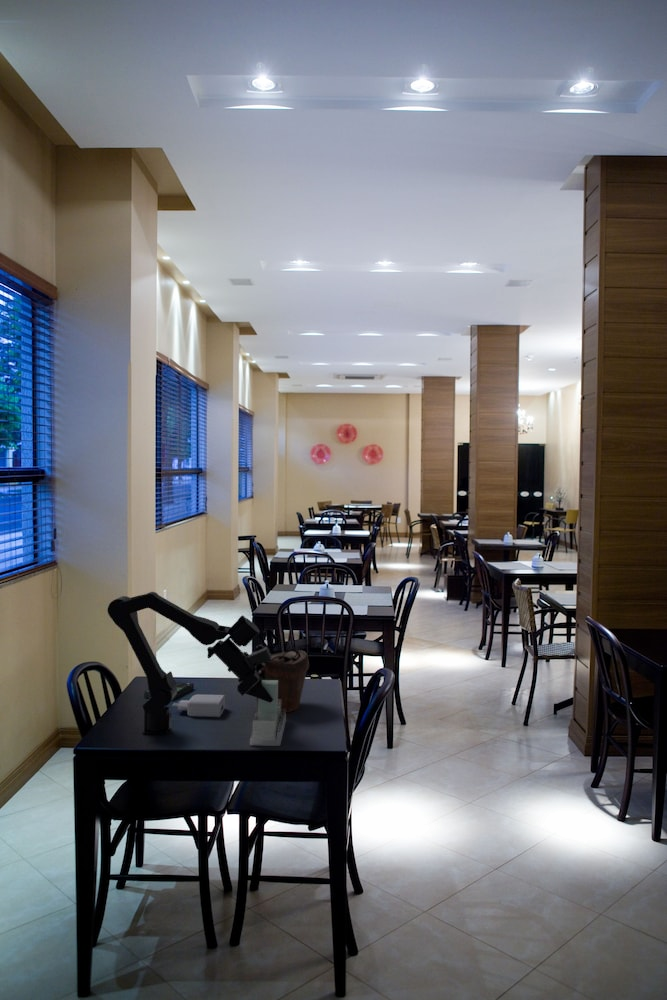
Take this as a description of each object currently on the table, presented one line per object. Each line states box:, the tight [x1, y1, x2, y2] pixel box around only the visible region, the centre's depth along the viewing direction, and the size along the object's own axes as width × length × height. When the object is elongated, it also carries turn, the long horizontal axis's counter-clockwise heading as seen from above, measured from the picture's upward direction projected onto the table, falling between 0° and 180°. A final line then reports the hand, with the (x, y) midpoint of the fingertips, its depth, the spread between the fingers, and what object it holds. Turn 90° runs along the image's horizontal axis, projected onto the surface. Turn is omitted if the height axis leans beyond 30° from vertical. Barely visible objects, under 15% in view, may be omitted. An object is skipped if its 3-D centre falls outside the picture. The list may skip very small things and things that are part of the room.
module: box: [257, 680, 278, 713], centre depth 209 cm, size 5×4×12 cm
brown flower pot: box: [250, 648, 310, 713], centre depth 234 cm, size 18×20×18 cm
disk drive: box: [143, 681, 195, 702], centre depth 247 cm, size 10×3×15 cm
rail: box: [249, 699, 287, 747], centre depth 209 cm, size 8×21×6 cm, turn 0°
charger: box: [171, 694, 226, 718], centre depth 227 cm, size 5×9×15 cm
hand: (272, 698), depth 209 cm, fingers open, 5 cm apart
